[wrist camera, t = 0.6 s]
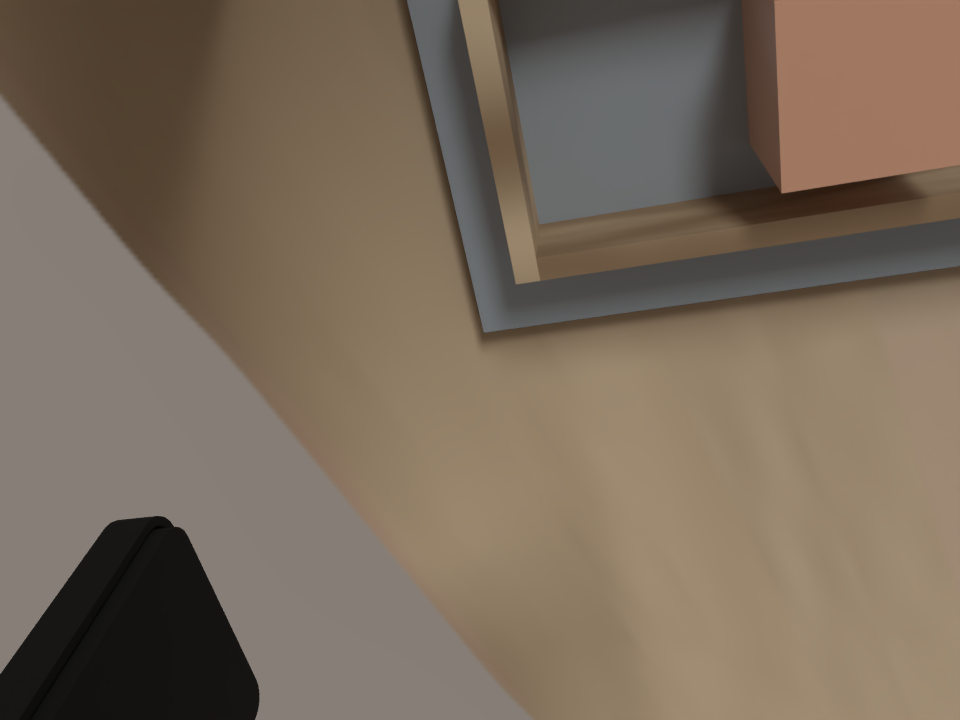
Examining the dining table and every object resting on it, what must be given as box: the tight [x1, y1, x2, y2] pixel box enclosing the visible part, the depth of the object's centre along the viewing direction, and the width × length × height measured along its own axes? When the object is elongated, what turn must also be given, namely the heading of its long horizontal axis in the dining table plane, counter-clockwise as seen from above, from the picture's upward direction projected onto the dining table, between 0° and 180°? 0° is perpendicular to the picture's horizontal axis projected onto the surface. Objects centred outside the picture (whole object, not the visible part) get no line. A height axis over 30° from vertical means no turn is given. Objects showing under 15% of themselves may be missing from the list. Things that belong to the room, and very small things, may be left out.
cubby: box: [458, 0, 960, 284], centre depth 25 cm, size 10×17×3 cm, turn 102°
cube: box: [741, 0, 960, 193], centre depth 24 cm, size 5×5×5 cm
